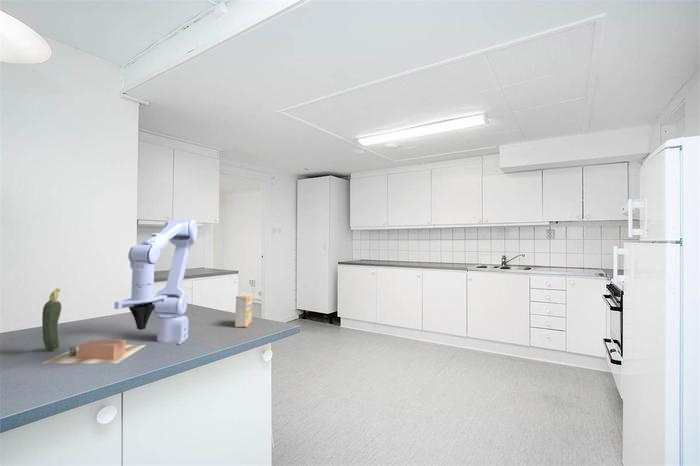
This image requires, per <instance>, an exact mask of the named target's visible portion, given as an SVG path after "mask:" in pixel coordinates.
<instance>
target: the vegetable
mask: <svg viewBox="0 0 700 466" xmlns="http://www.w3.org/2000/svg"><path fill="white" fill-rule="evenodd" d="M60 291H61V288H59V287H56V288H55V289H54V290H53V291H52V292H51V294H50V295H49V299H48V301H47V302H45V304H44V305H43V308H42V314H41V315H42V316H41V317H42V319H41V320H42V322H41V324H42V327H41V328H42V340H43V344H44V348H45V349H46V350H47V351H49V352H53V351H59V349H60V341H59V332H58V324H59V320H60V317H61V316H60V315H61V312H62V303H61V301H59V300H58V298H59V295H60V293H59V292H60Z"/></svg>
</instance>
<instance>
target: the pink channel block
mask: <svg viewBox="0 0 700 466" xmlns="http://www.w3.org/2000/svg"><path fill="white" fill-rule="evenodd" d="M126 342H127V340H126V339H107V338H106V339H102V338H101V339H100V338H99V339H98V338H97V339H96V338H95V339H94V338H92V339H89V340H87V341H84V342H83V343H80V344H78V346H77V347H78V359H115V358H117V357H118V356H120V355H122V354H124V353H125V347H126V345H127V344H126Z"/></svg>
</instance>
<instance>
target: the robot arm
mask: <svg viewBox="0 0 700 466" xmlns="http://www.w3.org/2000/svg"><path fill="white" fill-rule="evenodd" d="M198 229H199V228H198V223H197V222H196V220H194V219H191V220H189V219H187V220H186V219H172V218H169V219H168V220H166V221H165V223H164V228H163V229H162V230H161V231H160V232H152V234H151V235H150V236H148V238H146V239H145V240H144V241H142V243H140V244H134V245H133V246H131V247H130V249H129V251H128V254H127V257H128V261H129V263H130V265H129V267H130V269H131V270H132V272H131V295H130V297H131V298H128V299H127V298H126V299H122V300H119V301H114V309H116V310H122V309H125V308H128V309H129V311H130V312H131V314H132V315H133V318H134V321H135V326H136V329H137V330H140V331H142V330H145V329H146V328H147V324H148V321H149V318H150V316H151V315H152V313H153V315H155V317H156V318H157V323H156V325H157V330H156V331H157V332H156V341H157V342H159V343H169V342H170V343H171V342H177V343H176V345H180V344H182V343H184V342H185V341H186V340H187V339H188V338H189V317H188V316H187V315H184V313H185V312H186V310H187V307H188V294H187V293H186V292H185V291H184V290H183V289H182V286H183V282H184V277H185V273H186V268H187V265H188V264H187V263H188V259H189V255H190V250H191V247H192V245H194V244H195V243H196V241H197V236H198V232H199V231H198ZM169 242H170V244H172V245H174V246H175V248H174V253H173V257H172V261H171V264H170V269H169V273H168V276H167V280H166V284H165V287H163V288H162V289H160V290H159V291H157V293H156V295H154V290H155V288H154V287H155V286H154V285H155V284H154V283H155V265H156V264H155V263H158V261H159V258H160V256H161V253H162V252H163V251H165V249H166V248H167V247H168V245H169Z"/></svg>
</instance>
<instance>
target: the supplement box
mask: <svg viewBox="0 0 700 466" xmlns="http://www.w3.org/2000/svg"><path fill="white" fill-rule="evenodd" d="M253 297H254V293H252V292H251V293H250V292H249V293H248V292H247V293H246V292H243V293H239V294H238V295H236V296H235V317H234V318H235V321H234V327H235V328H238V327H246V328H247V327H248V326H250V325H251V324H252V323H253V322H252V320H253ZM251 322H252V323H251ZM250 323H251V324H250Z"/></svg>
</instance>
